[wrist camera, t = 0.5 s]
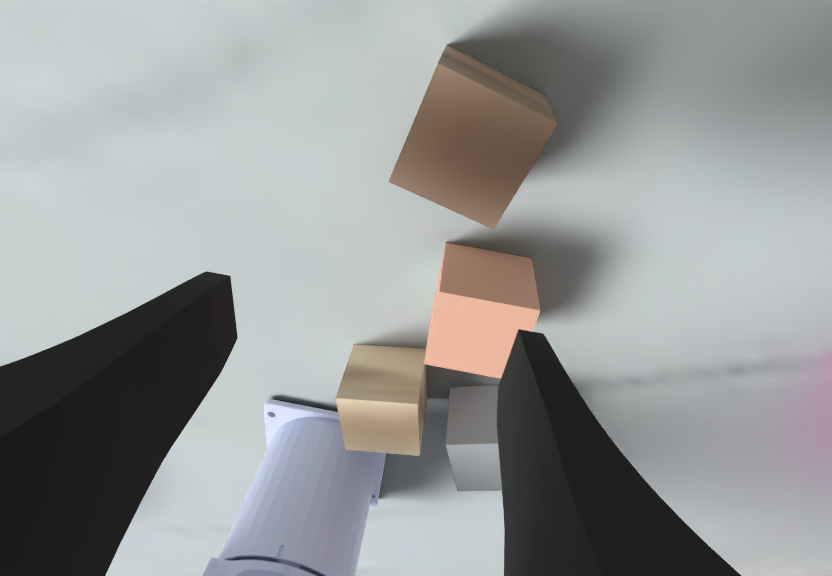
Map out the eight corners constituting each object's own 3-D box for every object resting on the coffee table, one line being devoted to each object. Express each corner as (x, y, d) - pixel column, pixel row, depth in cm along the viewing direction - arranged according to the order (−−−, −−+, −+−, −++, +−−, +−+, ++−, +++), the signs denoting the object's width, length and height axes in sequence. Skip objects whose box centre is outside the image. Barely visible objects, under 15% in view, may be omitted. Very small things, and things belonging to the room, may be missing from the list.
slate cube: (525, 429, 28) (531, 490, 25) (460, 431, 29) (457, 490, 25) (520, 382, 26) (526, 442, 22) (449, 386, 27) (445, 444, 23)
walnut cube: (492, 185, 19) (493, 229, 16) (405, 144, 19) (388, 181, 16) (543, 93, 17) (558, 123, 14) (447, 44, 17) (437, 63, 13)
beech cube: (427, 397, 27) (419, 456, 24) (361, 393, 28) (345, 449, 25) (426, 347, 25) (417, 404, 22) (354, 343, 26) (335, 398, 22)
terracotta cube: (509, 323, 23) (513, 380, 20) (431, 308, 23) (423, 364, 20) (531, 257, 21) (540, 310, 18) (445, 241, 21) (439, 291, 18)
